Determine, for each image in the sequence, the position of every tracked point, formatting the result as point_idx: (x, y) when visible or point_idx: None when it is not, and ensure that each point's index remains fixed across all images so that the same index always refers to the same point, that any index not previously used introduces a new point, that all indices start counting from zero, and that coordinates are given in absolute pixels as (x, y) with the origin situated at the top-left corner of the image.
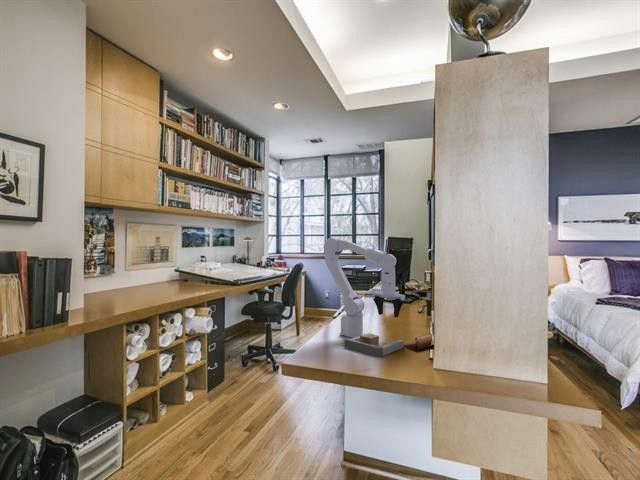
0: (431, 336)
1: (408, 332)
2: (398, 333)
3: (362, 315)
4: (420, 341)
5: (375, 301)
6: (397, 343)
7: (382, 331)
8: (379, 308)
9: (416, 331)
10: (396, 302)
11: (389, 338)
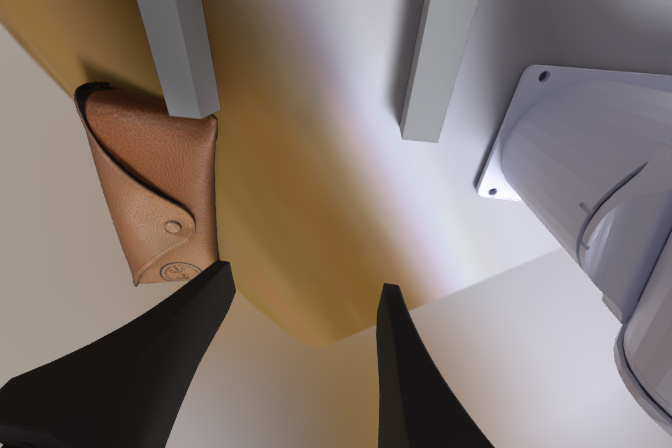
0: (127, 244)
1: (328, 323)
2: (352, 297)
3: (580, 253)
4: (91, 145)
5: (454, 428)
6: (146, 28)
7: (427, 292)
8: (389, 337)
9: (314, 342)
10: (11, 386)
11: (342, 213)
